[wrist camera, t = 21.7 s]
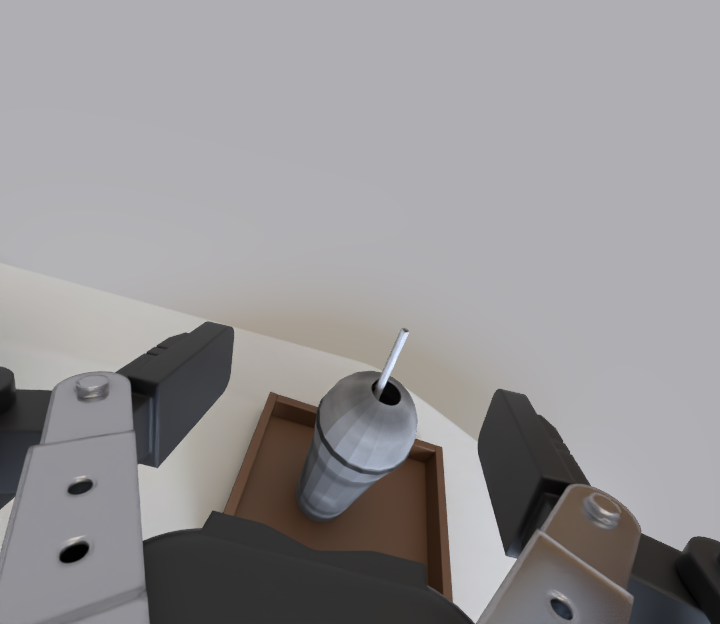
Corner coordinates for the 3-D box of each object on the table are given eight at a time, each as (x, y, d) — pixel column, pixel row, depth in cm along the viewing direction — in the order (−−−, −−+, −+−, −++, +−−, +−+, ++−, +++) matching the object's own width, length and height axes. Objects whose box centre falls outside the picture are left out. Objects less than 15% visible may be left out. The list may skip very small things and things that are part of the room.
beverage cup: (299, 557, 30) (405, 412, 18) (267, 472, 34) (335, 308, 22) (372, 518, 34) (497, 380, 22) (336, 447, 38) (424, 297, 26)
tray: (202, 571, 28) (206, 556, 26) (264, 409, 39) (270, 391, 37) (435, 631, 30) (454, 621, 28) (429, 461, 41) (442, 447, 40)
